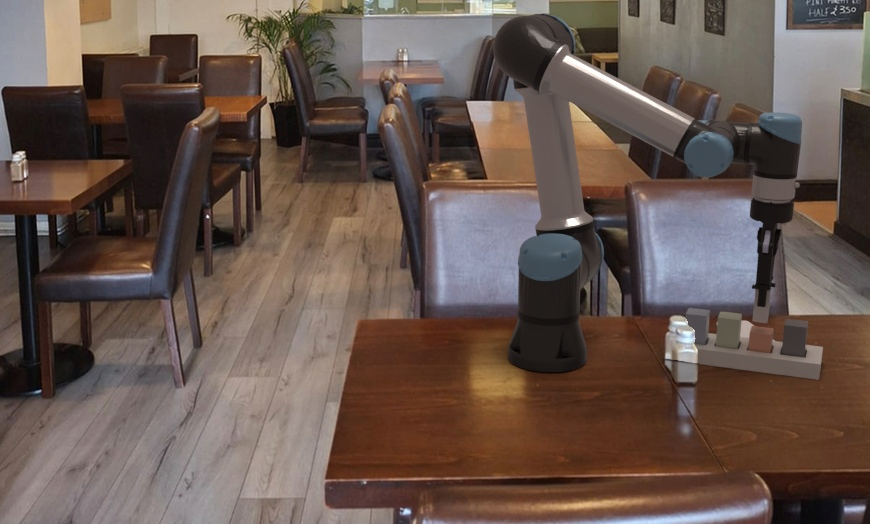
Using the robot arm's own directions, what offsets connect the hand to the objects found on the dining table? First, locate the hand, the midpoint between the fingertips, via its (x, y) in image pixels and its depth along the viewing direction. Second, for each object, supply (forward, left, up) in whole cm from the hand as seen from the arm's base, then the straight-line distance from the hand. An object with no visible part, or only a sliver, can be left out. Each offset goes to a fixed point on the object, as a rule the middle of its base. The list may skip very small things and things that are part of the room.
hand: (760, 321), depth 196 cm
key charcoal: (+6, 0, -6) cm, 9 cm away
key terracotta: (0, 0, -8) cm, 8 cm away
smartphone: (-4, +16, -9) cm, 19 cm away
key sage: (-6, 0, -6) cm, 8 cm away
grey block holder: (-3, 0, -8) cm, 9 cm away
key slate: (-12, 0, -6) cm, 13 cm away
